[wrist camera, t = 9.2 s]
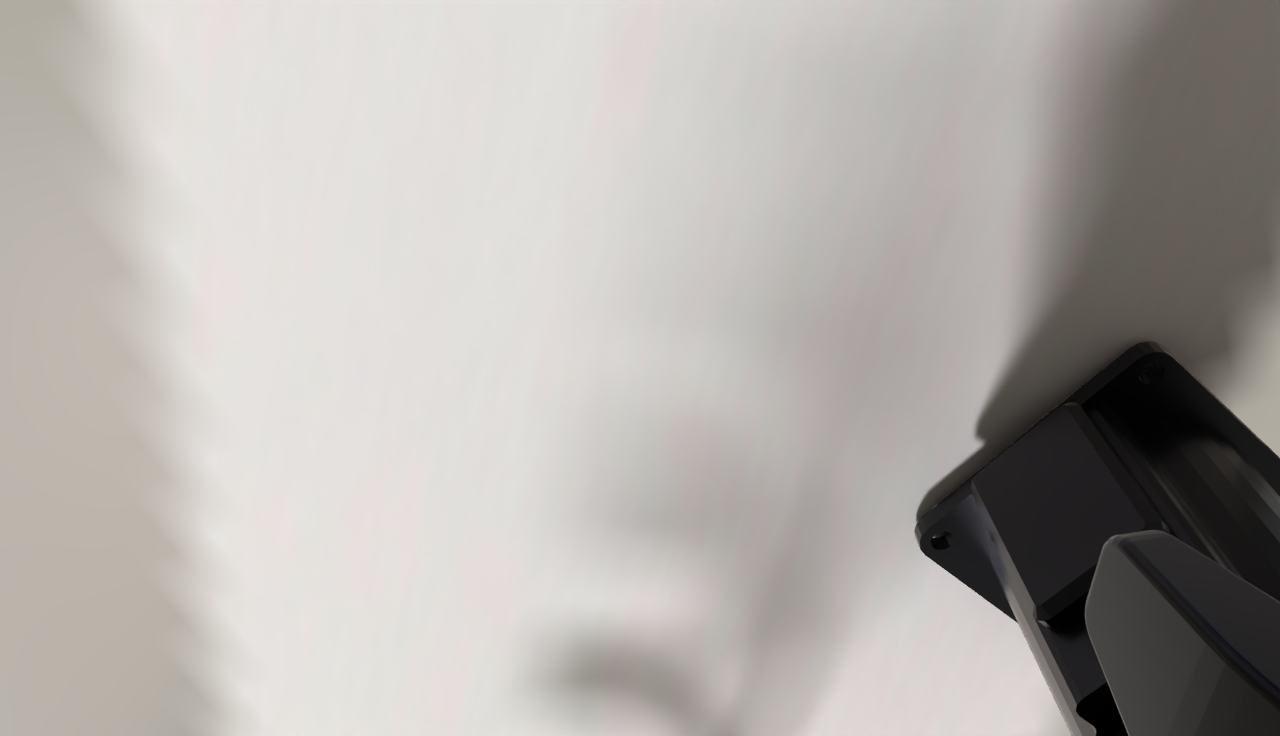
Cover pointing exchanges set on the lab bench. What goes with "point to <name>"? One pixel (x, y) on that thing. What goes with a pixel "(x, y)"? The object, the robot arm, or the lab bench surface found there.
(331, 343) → the lab bench surface
